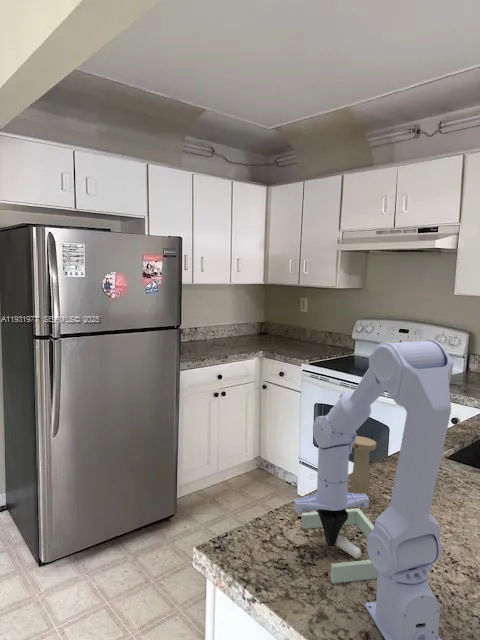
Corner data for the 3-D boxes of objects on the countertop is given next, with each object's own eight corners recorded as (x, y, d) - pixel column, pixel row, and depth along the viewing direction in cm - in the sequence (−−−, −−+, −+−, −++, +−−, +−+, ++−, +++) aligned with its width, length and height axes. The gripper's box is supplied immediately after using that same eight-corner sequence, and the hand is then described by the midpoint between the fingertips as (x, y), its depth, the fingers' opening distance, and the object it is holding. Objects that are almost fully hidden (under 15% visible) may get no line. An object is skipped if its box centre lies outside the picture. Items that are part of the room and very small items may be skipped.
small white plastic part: (349, 563, 84) (351, 546, 84) (330, 547, 89) (332, 531, 89) (364, 561, 85) (366, 544, 85) (345, 545, 90) (347, 530, 90)
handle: (366, 510, 103) (368, 447, 102) (342, 499, 108) (344, 439, 107) (377, 503, 107) (380, 442, 105) (353, 493, 111) (356, 434, 110)
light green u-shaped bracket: (401, 575, 81) (402, 559, 81) (332, 583, 79) (333, 567, 79) (358, 521, 99) (359, 508, 99) (301, 526, 97) (301, 513, 96)
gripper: (359, 465, 92) (356, 528, 93) (290, 470, 89) (288, 534, 91) (375, 481, 85) (372, 549, 86) (301, 486, 82) (299, 556, 84)
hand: (330, 543), depth 88 cm, fingers closed
